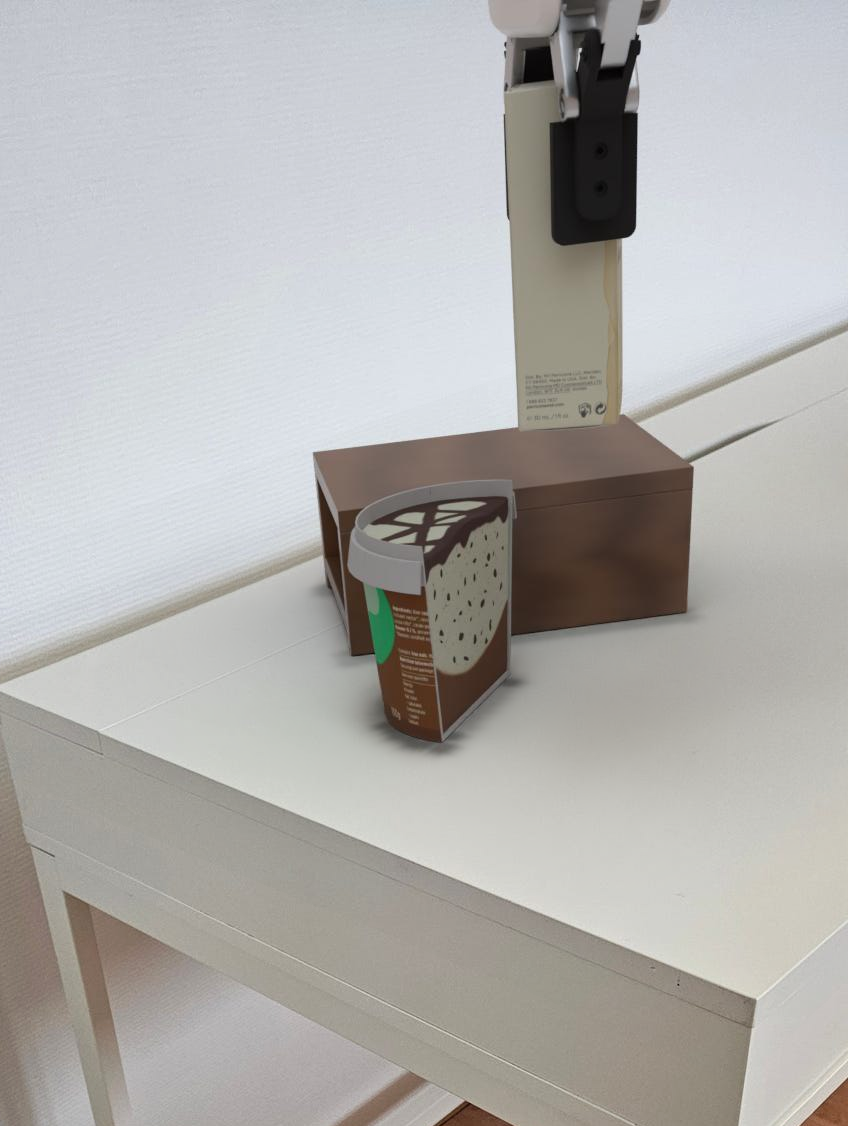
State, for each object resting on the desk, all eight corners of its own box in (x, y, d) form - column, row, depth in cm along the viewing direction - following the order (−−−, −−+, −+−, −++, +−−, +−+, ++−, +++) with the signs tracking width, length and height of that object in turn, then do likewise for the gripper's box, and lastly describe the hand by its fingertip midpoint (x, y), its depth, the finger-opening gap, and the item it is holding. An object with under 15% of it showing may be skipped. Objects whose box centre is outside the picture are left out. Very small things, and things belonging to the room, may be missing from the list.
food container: (420, 654, 81) (408, 472, 75) (520, 663, 78) (516, 476, 73) (320, 740, 72) (298, 543, 66) (429, 754, 70) (416, 550, 64)
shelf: (621, 544, 94) (623, 413, 89) (687, 612, 83) (694, 466, 78) (325, 582, 93) (312, 452, 88) (351, 656, 82) (337, 511, 77)
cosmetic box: (619, 429, 58) (622, 77, 51) (512, 435, 59) (501, 90, 52) (623, 393, 63) (626, 67, 56) (524, 399, 64) (515, 79, 57)
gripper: (766, -467, 40) (731, 243, 50) (600, -334, 54) (599, 199, 65) (508, -441, 40) (527, 269, 50) (408, -314, 54) (438, 220, 64)
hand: (567, 226), depth 57 cm, fingers closed on cosmetic box, 7 cm apart
